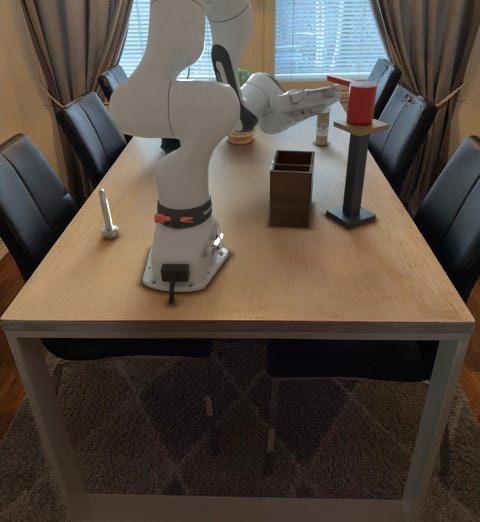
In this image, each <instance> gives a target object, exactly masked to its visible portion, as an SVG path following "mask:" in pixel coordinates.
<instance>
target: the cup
mask: <svg viewBox="0 0 480 522" xmlns="http://www.w3.org/2000/svg"><path fill="white" fill-rule="evenodd" d="M326 81H328V82H332V83H334V84H339V85H342V86H345V87H348V88H349V89H348V98H347V109H346V118H345V119H346V121H347V122H350V123H352V124H355V125H358V126H360V125H364V124H368V123H372V121H373V119H374V113H375V105H376V98H377V90H378V83H376V82H373V81H367V80H358V81H357V80H354V79H350V78H346V77H343V76H340V75H336V74H331V73H330V74H327V75H326Z"/></svg>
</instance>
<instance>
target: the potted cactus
mask: <svg viewBox="0 0 480 522" xmlns="http://www.w3.org/2000/svg"><path fill="white" fill-rule="evenodd" d="M253 74H254V73H252V72H250V71H249V70H248V69H246V68H245V67H244V68H243V67H242V68H240V67H238V78H239V82H240V86H241V88H242V87H243V85H244V84H245V83H246V82H247V80H248V79H249V78H250V77H251V76H252V75H253ZM257 129H258V125H256V126H255V128H254V129H253V130H252V131H250V132H236V131H234V130H233V131H232V132H231V133H230V134H229V135H228V136H227V138H228V142H229V143H231V144H233V145H235V144H236V145H246V144H249V143H251V142H253V136H254V135H255V134H256V132H257Z"/></svg>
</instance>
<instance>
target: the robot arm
mask: <svg viewBox="0 0 480 522" xmlns="http://www.w3.org/2000/svg"><path fill="white" fill-rule="evenodd" d="M148 15H149V18H148V30H147V40H146V45H145V46H146V47H145V49H144V53H143V55H142V57H141V59H140V61H139V63H138V65H136V68H135V69H134V70H133V72H132V73H131V74H130V75H129V76H128V77H127V78H126V79H125V80H124V81H122V82H120V83H119V84H118V85H116V87H115V88H114V89H113V91H112V93H111V95H110V98H109V105H108V109H109V110H108V112H109V116H110V118H111V121H112V123H113V125H114V126H115V128H116V130H117V131H119V132H120V133H121V134H123V135H127V136H131V137H137V138H142V139H161V138H176V139H179V140H180V145H181V147H180V148H178V149H177V150H175V151H173V152H171V153H166V154H165V155H164V156H162V157H161V158H160V159H159V160H158V162H157V163H156V166H155V170H154V175H155V183H156V191H157V201H156V213H154V215H153V216H154V217H153V222H154V223H155V227H154V233H153V238H152V245H151V246H150V249H149V254H148V257H147V261H146V264H145V269H144V273H143V277H142V284H143V285H144V286H146V287H148V288H150V289H154V290H156V291H157V290H158V291H163V292H168V296H169V297H168V298H169V299H168V303H169V305H172V304H174V302H175V293H188V292H189V293H191V292H196V291H202V290H204V289H205V288H206V287H207V286H208V285H209V283H210V282H211V280H212V279H213V278H214V276H215V275H216V274H217V272H218V271H219V269H220V268H221V267H222V265H223V264H224V263H225V261H226V260H227V259H228V257H229V255H230V253H229V249H227V248H226V247H224V246H223V242H222V240H223V237H224V233H222V232H221V226H220V222H219V221H218V219H217V218H215V217H214V215H213V201H212V196H211V194H210V190H209V169H210V168H209V167H210V161H211V158H212V156H213V153H214V152H215V150H216V148H217V146H218V145H219V144H220V143H221V142H222V141H223V140H224V139H225V138H226V137H228V135H229V134H230V133H231V132H232V131H233V130H234V131H236V132H250V131H252V130H253V129H254V128H255V126H256V125H258V126H257V128H258V129H259V130H260V131H261V132H262V133H264V134H267V135H276V134H277V135H278V134H280V133H283V132H284V131H286V130H288V129H290V128H291V127H294V126H296V125H298V124H299V123H301V122H304V121H306V120H308V119H309V118H311V117H315V116H317V115H318V114H321V113H322V112H324V109H326V108H328V107H329V106H330V107H332V106H333V105H334V104H336V103H337V102H339V101H340V100H342V96H343V95H342V91H341V87H340V84H337V83H334V84H332V85H329V86H325V87H319V88H313V89H309V88H307V89H303V90H302V89H289V90H288V91H287V92H285V90H284V89H283V87H282V85H281V83H280V82H279V81H278V80H277V79H276V78H275V77H274V76H273V75H272V74H269V73H266V72H262V71H261V72H260V71H259V72H254V73H252V74H253V75H252V76H251V77H250V78H249V79H248V80H247V82H246V83H245V84H244V85H243V87H242V88H241V86H240V82H239V78H238V68H239V65H240V61H241V58H242V56H243V53H244V51H245V49H246V47H247V45H248V43H249V41H250V39H251V37H252V35H253V32H254V28H255V17H254V10H253V7H252V4H251V0H149V13H148ZM206 20H207V21H208V23H209V24H208V25H209V29H210V34H211V35H210V36H211V51H210V59H211V64H212V68H213V72H214V75H215V79H216V80H212V79H211V80H210V79H188V80H187V79H178V78H179V76H180V75H181V74H182V73H183V72H185V70H187V69H188V68H189V67H190V68H191V67H192V66H195V65H196V64H197V63H198V62H199V60H200V59H201V58H202V57H203V54H204V52H205V48H206V22H207V21H206ZM176 79H177V80H176Z"/></svg>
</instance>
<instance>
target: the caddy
mask: <svg viewBox="0 0 480 522" xmlns="http://www.w3.org/2000/svg"><path fill="white" fill-rule="evenodd" d="M315 154H316V151H313V150H312V151H311V150H283V149H282V150H281V149H276V152H275V154H274V157H273V160H272V164H271V167H270V170H269V226H270V227H283V228H295V229H297V228H298V229H309V228H310V219H311V212H312V204H313V203H312V202H313V188H314V172H315V158H316V157H315V156H316V155H315Z"/></svg>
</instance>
